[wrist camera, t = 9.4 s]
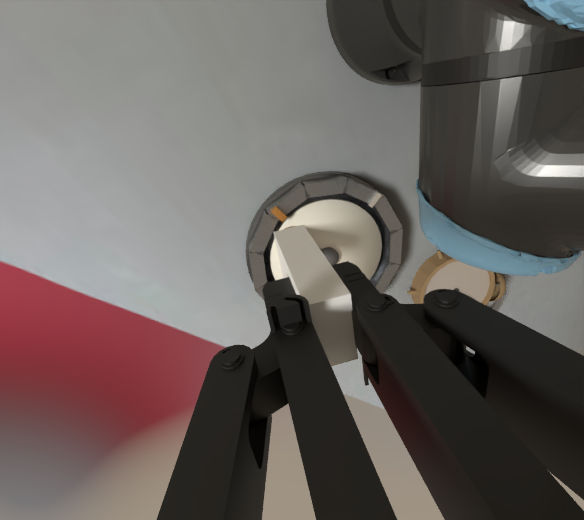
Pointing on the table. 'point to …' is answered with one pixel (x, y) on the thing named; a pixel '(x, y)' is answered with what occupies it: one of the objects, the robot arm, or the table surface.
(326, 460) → the robot arm
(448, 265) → the alarm clock
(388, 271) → the housing
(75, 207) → the table surface
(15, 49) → the table surface
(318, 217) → the dial
